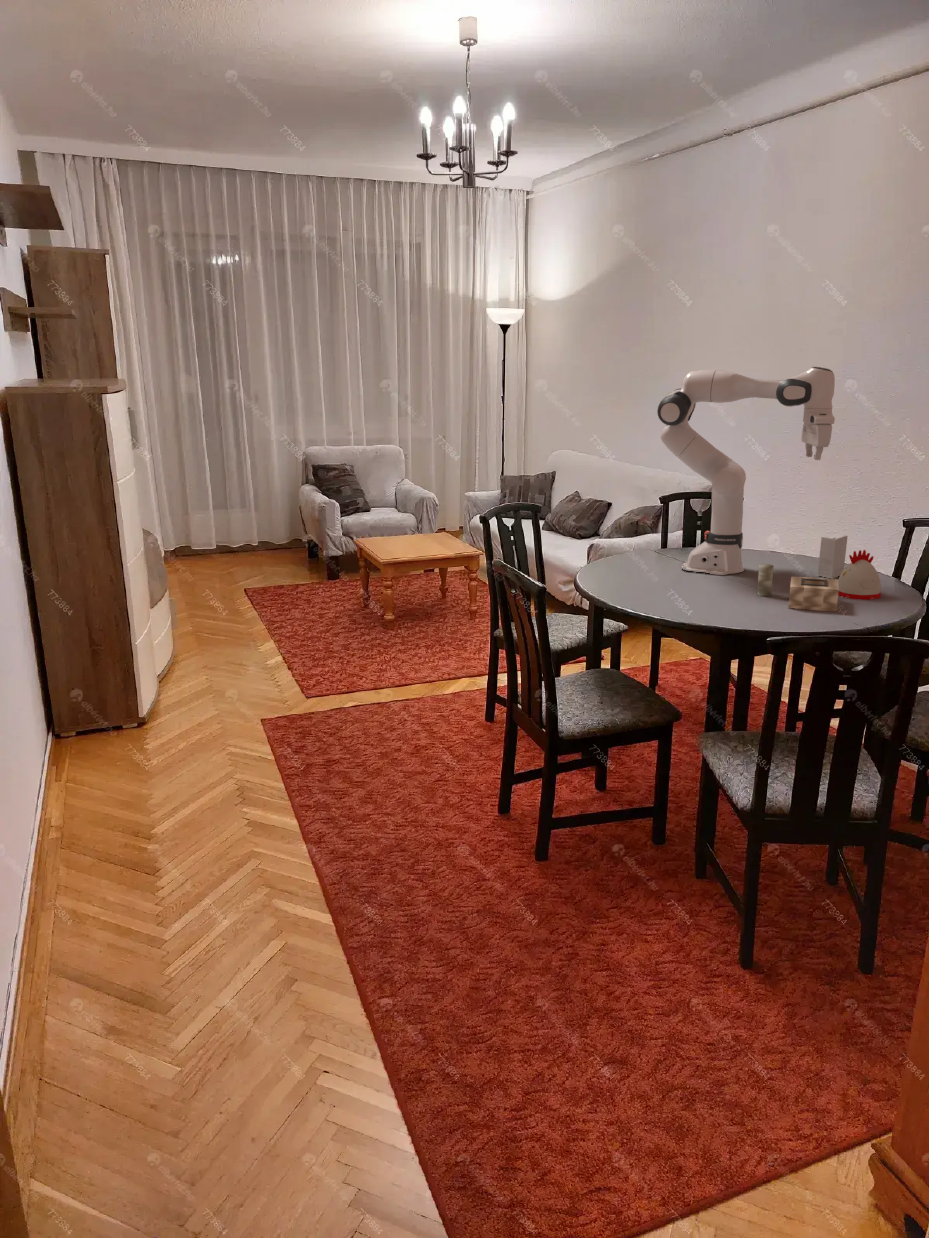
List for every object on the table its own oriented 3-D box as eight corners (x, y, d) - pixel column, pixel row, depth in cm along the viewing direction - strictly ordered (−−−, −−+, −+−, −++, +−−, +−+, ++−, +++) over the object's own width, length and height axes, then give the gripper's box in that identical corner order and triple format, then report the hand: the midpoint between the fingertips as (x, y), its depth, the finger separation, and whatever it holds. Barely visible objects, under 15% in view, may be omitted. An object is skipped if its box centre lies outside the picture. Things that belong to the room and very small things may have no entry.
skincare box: (828, 572, 316) (832, 532, 312) (844, 575, 312) (848, 534, 307) (816, 576, 311) (820, 535, 307) (832, 579, 307) (836, 538, 302)
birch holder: (788, 608, 273) (790, 585, 271) (789, 597, 286) (791, 575, 283) (836, 611, 268) (838, 588, 266) (835, 600, 281) (837, 578, 279)
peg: (756, 596, 288) (758, 566, 285) (757, 592, 292) (759, 563, 289) (770, 596, 286) (773, 567, 284) (771, 593, 290) (773, 564, 288)
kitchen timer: (827, 590, 293) (831, 546, 289) (865, 588, 294) (870, 544, 290) (849, 601, 280) (854, 555, 275) (889, 598, 281) (894, 553, 277)
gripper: (798, 415, 302) (795, 455, 306) (816, 419, 283) (812, 461, 287) (817, 415, 302) (813, 455, 306) (836, 418, 282) (831, 461, 286)
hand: (813, 458), depth 296 cm, fingers open, 8 cm apart
